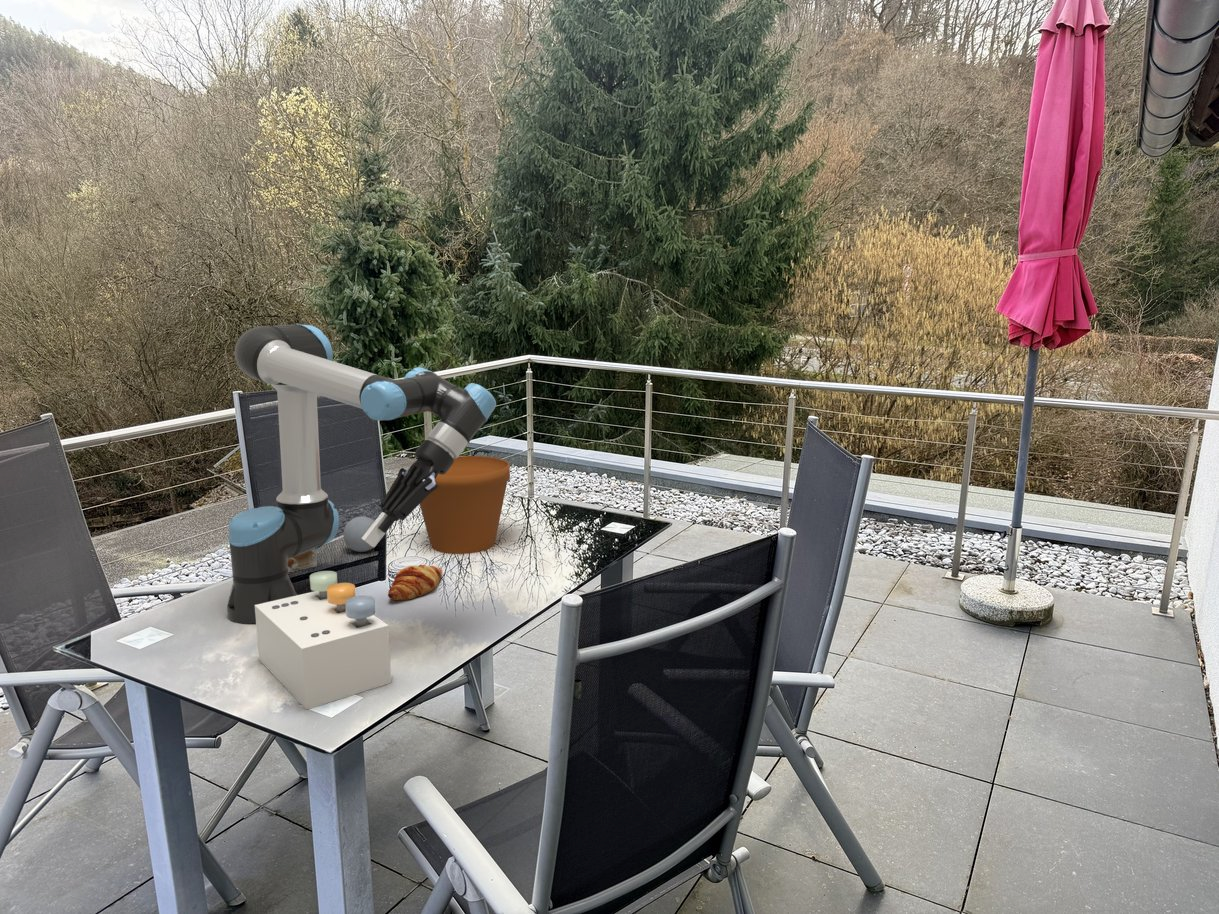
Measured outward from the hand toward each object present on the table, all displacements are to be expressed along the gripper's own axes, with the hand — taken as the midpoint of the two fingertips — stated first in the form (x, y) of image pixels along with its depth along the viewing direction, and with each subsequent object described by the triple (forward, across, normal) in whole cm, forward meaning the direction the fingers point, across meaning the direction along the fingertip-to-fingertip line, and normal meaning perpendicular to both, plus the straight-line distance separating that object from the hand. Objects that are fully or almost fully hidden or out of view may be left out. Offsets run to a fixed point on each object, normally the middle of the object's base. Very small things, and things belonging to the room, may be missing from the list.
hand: (367, 542), depth 160 cm
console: (+24, 0, -10) cm, 26 cm away
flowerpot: (-20, +54, -54) cm, 79 cm away
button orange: (+14, 0, -5) cm, 15 cm away
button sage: (+14, +9, -5) cm, 17 cm away
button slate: (+14, -9, -5) cm, 17 cm away
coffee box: (+12, +64, -22) cm, 69 cm away
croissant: (0, +28, -34) cm, 45 cm away
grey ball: (-2, +67, -36) cm, 76 cm away
